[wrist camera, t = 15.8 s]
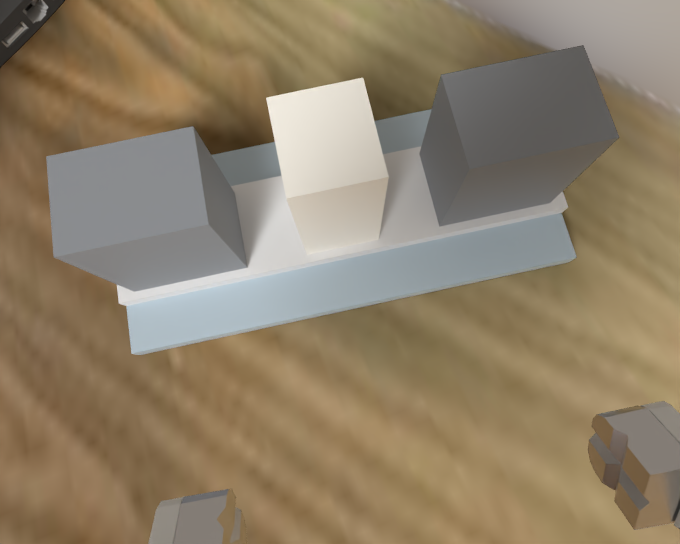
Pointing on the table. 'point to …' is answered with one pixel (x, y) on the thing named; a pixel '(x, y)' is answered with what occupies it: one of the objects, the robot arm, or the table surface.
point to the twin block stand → (346, 262)
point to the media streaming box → (22, 22)
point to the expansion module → (330, 164)
